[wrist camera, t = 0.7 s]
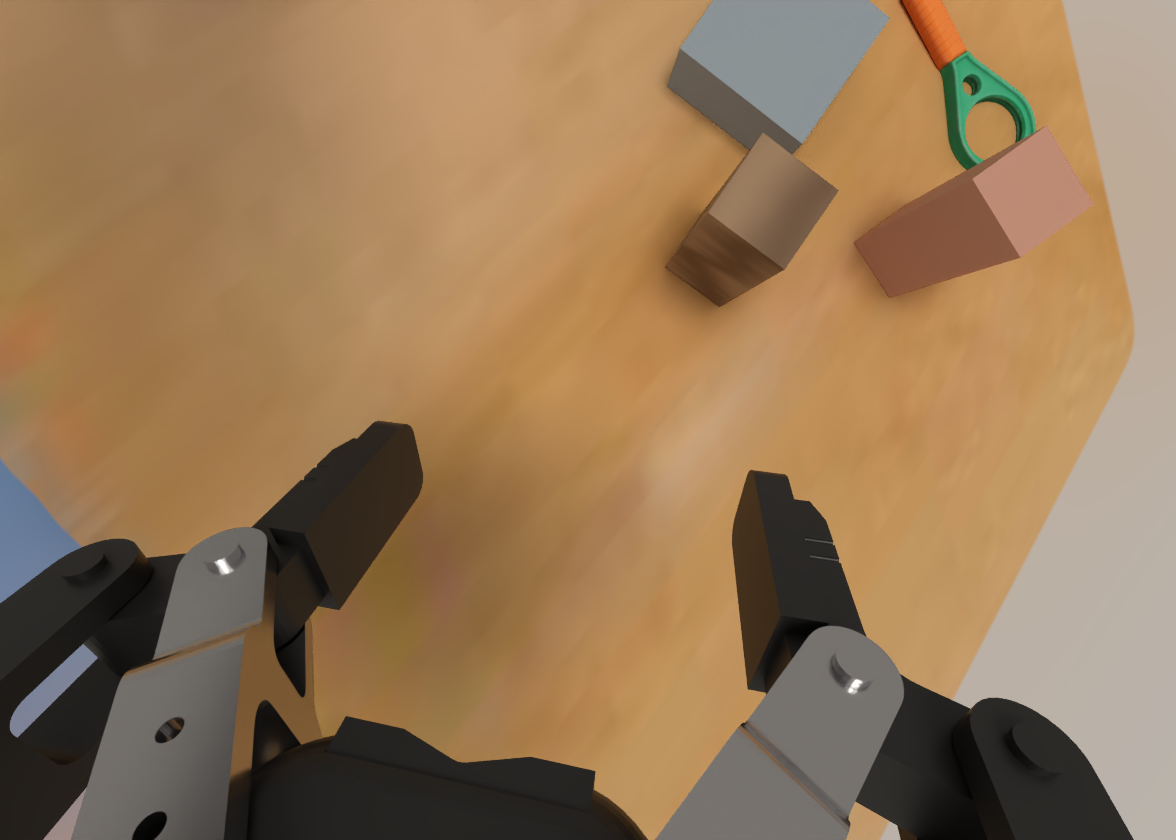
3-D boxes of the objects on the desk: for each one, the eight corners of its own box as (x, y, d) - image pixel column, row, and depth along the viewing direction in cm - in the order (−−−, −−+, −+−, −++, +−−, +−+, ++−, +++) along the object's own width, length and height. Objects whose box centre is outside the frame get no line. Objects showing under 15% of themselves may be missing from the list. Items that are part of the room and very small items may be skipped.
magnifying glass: (1035, 153, 35) (1058, 141, 34) (971, 196, 35) (992, 186, 34) (936, -24, 34) (955, -46, 33) (870, 19, 34) (886, 0, 32)
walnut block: (665, 267, 34) (707, 212, 24) (703, 210, 34) (762, 132, 24) (719, 306, 34) (784, 269, 24) (757, 251, 34) (838, 190, 24)
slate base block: (666, 89, 34) (680, 48, 30) (744, -24, 33) (769, -81, 29) (774, 173, 34) (802, 143, 30) (851, 62, 34) (890, 18, 30)
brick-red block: (853, 242, 35) (972, 179, 25) (907, 204, 35) (1046, 125, 25) (889, 297, 35) (1020, 257, 25) (942, 259, 35) (1093, 204, 25)
